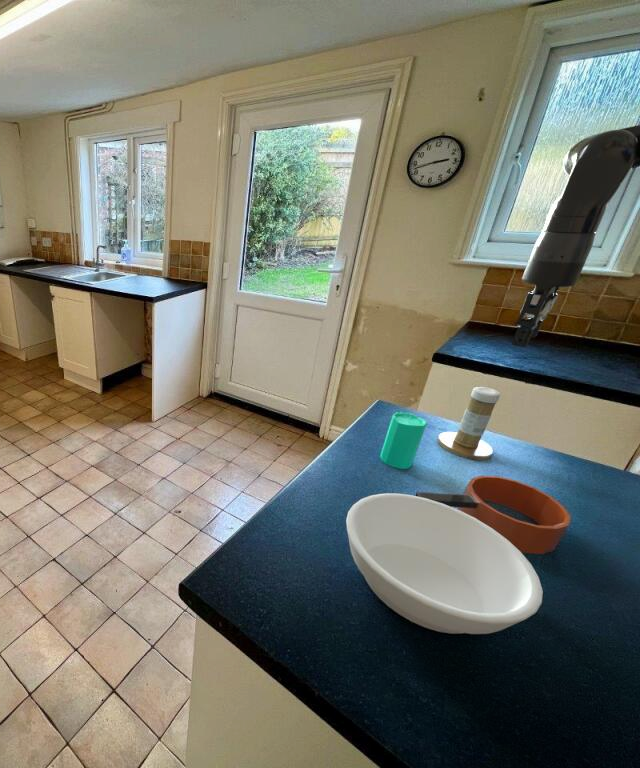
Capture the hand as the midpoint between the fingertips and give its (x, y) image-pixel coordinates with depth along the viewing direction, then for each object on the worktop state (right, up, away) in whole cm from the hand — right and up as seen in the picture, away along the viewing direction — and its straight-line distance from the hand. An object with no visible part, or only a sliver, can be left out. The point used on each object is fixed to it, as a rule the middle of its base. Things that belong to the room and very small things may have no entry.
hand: (523, 341), depth 83 cm
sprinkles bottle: (-2, -22, +11) cm, 25 cm away
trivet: (-2, -23, +12) cm, 26 cm away
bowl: (-36, -39, -21) cm, 58 cm away
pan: (-17, -33, -9) cm, 39 cm away
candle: (-21, -25, +7) cm, 34 cm away
